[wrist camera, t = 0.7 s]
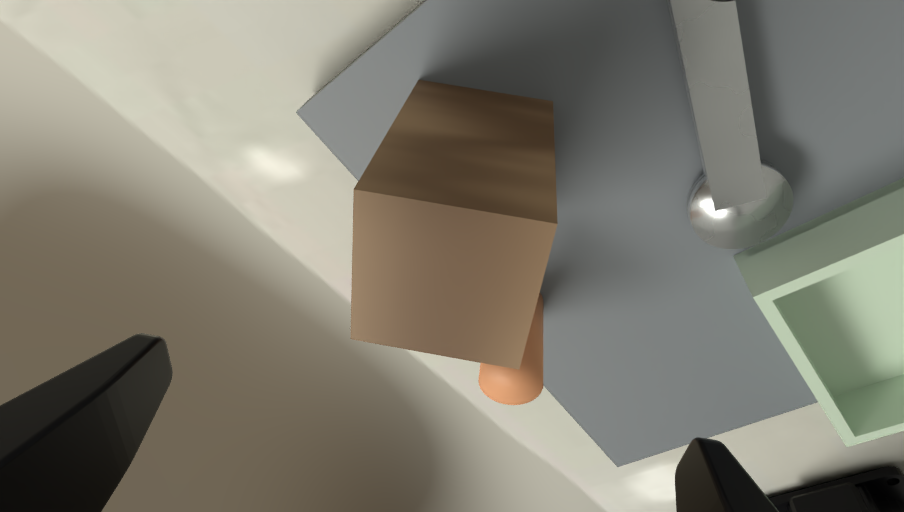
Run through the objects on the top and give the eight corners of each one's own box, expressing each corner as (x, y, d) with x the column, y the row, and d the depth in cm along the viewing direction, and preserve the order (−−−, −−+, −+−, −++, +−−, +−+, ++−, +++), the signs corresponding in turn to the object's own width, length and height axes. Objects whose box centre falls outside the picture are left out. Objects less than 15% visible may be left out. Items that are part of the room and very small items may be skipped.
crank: (791, 224, 18) (860, 325, 14) (695, 248, 18) (735, 349, 15) (739, -159, 13) (824, -171, 9) (612, -101, 14) (638, -88, 10)
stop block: (553, 101, 17) (557, 224, 11) (527, 217, 19) (519, 370, 13) (418, 79, 17) (353, 189, 11) (408, 197, 19) (350, 339, 13)
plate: (1056, 292, 19) (1201, 413, 15) (614, 444, 26) (628, 555, 22) (845, -359, 12) (1014, -486, 8) (308, 99, 19) (240, 167, 15)
